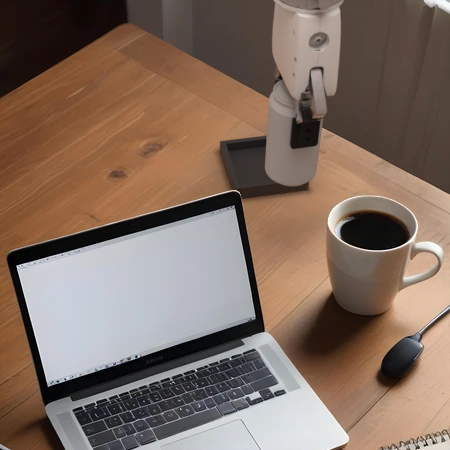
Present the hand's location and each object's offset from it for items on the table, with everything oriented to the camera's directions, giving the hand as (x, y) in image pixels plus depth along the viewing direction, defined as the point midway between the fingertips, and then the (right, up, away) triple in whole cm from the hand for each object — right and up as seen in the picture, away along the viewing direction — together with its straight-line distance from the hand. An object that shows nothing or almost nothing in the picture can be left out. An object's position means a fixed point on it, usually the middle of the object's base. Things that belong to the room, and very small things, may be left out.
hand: (294, 125), depth 98 cm
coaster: (-2, 0, +29) cm, 29 cm away
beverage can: (0, -5, +6) cm, 7 cm away
